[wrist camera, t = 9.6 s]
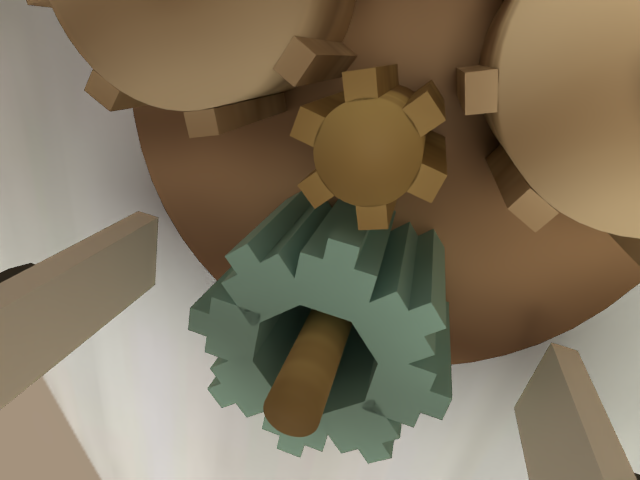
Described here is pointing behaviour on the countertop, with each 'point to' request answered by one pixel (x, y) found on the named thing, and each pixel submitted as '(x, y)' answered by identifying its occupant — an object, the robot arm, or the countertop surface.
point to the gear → (340, 301)
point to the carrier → (393, 145)
